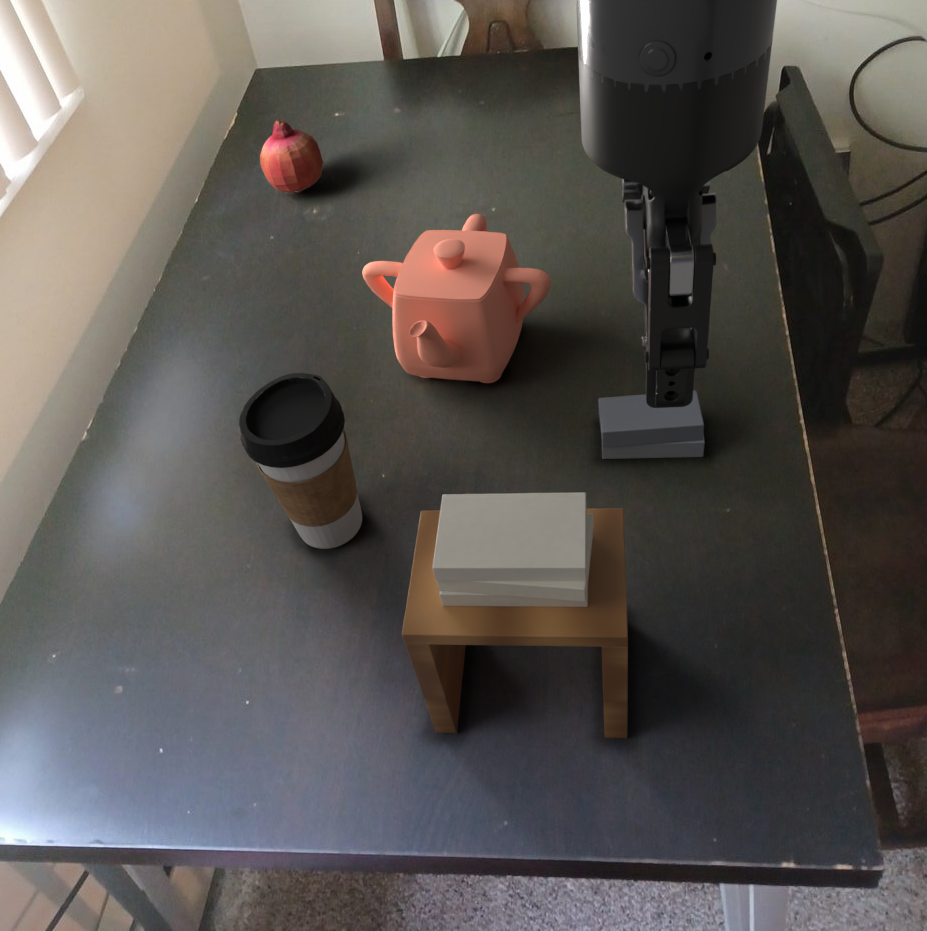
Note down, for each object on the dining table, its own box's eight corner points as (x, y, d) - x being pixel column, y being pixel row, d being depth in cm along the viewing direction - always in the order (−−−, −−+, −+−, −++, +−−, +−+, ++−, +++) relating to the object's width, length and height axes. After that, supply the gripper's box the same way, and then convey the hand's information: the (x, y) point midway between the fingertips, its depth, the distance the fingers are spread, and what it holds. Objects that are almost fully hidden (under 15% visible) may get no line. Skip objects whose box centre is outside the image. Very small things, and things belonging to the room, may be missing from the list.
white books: (594, 529, 60) (593, 503, 58) (594, 614, 56) (593, 589, 54) (451, 531, 62) (445, 505, 60) (441, 613, 57) (434, 589, 55)
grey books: (699, 420, 84) (701, 389, 81) (703, 460, 81) (706, 429, 78) (599, 423, 86) (598, 393, 83) (599, 462, 82) (598, 432, 79)
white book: (586, 505, 58) (585, 492, 57) (586, 581, 54) (585, 567, 53) (445, 507, 59) (442, 494, 58) (435, 581, 56) (432, 568, 55)
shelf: (623, 618, 71) (623, 507, 61) (627, 738, 65) (627, 637, 54) (449, 617, 74) (420, 510, 63) (435, 733, 67) (401, 634, 57)
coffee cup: (395, 512, 82) (359, 393, 71) (330, 576, 78) (281, 461, 67) (331, 474, 86) (287, 356, 75) (266, 533, 82) (210, 418, 71)
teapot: (487, 286, 102) (472, 182, 92) (572, 357, 92) (566, 249, 83) (359, 352, 97) (329, 249, 88) (434, 433, 88) (411, 328, 78)
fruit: (262, 207, 120) (238, 137, 112) (282, 174, 125) (261, 105, 117) (318, 207, 118) (298, 136, 110) (337, 174, 123) (319, 104, 115)
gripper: (806, 110, 30) (755, 442, 42) (747, -47, 40) (719, 260, 52) (580, 131, 31) (593, 448, 43) (575, -27, 41) (587, 269, 53)
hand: (661, 345), depth 47 cm, fingers open, 8 cm apart
